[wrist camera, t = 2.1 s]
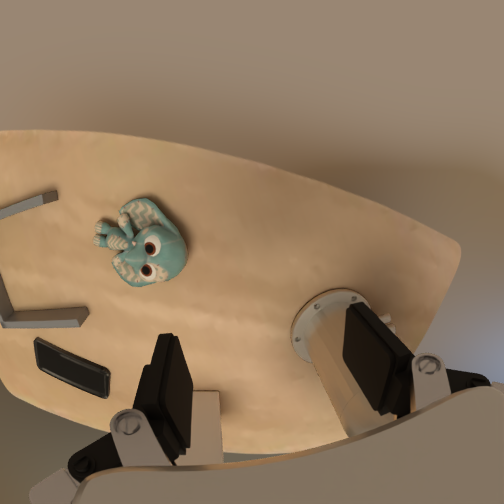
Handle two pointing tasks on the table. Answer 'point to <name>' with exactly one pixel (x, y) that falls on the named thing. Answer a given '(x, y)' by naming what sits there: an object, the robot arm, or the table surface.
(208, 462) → the milk carton
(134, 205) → the stuffed animal
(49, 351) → the phone
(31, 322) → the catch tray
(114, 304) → the table surface
